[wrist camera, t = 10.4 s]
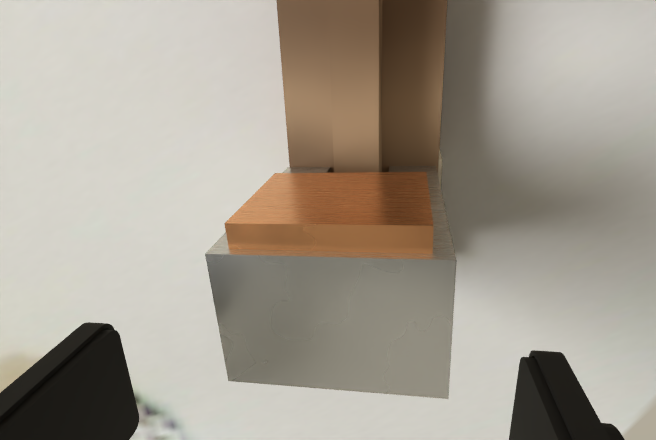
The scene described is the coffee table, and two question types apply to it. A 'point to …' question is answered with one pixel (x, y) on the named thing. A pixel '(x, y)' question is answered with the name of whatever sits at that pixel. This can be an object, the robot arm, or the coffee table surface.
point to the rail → (363, 82)
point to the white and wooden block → (339, 283)
